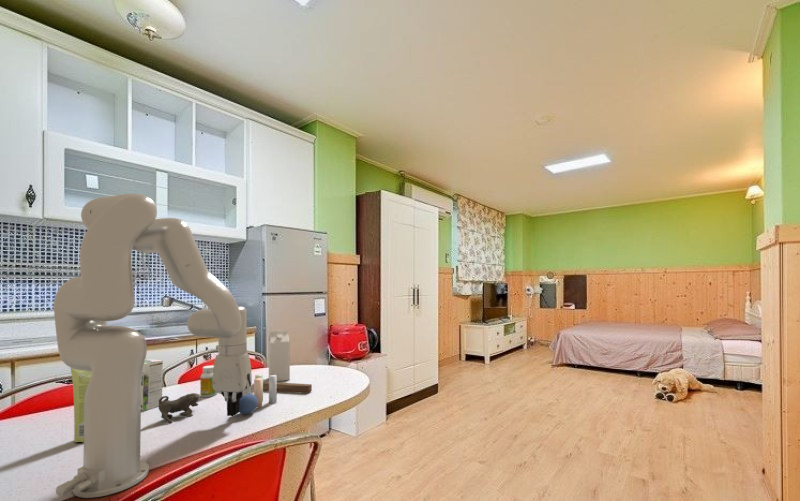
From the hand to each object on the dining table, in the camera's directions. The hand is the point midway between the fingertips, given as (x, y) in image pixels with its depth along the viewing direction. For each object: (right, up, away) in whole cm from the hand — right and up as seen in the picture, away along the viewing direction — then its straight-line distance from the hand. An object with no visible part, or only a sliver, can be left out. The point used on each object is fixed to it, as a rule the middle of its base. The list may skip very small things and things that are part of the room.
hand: (233, 414), depth 111 cm
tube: (-33, -2, -10) cm, 35 cm away
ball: (+2, +1, +6) cm, 6 cm away
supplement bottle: (-19, -4, +24) cm, 31 cm away
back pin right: (+6, -3, +15) cm, 17 cm away
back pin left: (+1, -3, +16) cm, 17 cm away
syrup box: (-33, -3, +13) cm, 36 cm away
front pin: (+3, -3, +12) cm, 12 cm away
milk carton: (0, -4, +42) cm, 42 cm away
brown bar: (+7, -3, +27) cm, 28 cm away
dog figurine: (-17, -3, +4) cm, 18 cm away
